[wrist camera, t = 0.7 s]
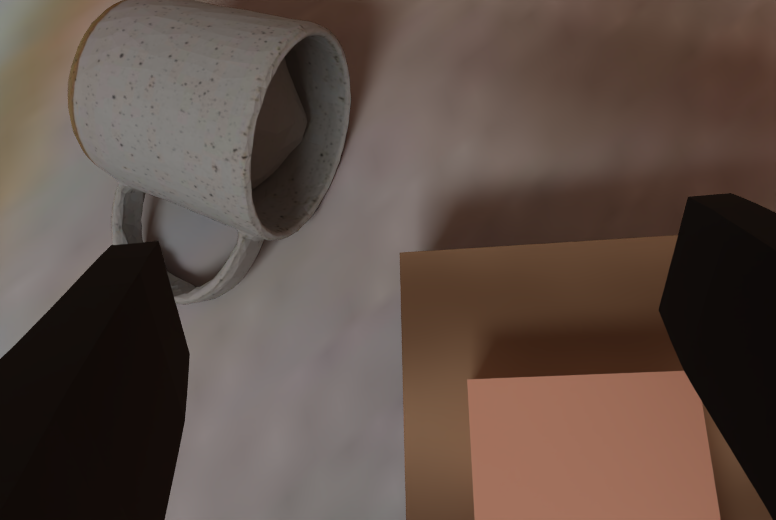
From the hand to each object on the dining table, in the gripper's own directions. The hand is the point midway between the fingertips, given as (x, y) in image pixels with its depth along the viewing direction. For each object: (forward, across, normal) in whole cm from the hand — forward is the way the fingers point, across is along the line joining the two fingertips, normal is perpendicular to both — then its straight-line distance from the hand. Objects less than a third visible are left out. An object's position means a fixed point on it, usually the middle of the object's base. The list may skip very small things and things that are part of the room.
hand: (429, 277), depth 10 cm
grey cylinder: (+18, +5, +9) cm, 21 cm away
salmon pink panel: (+2, -5, +12) cm, 13 cm away
